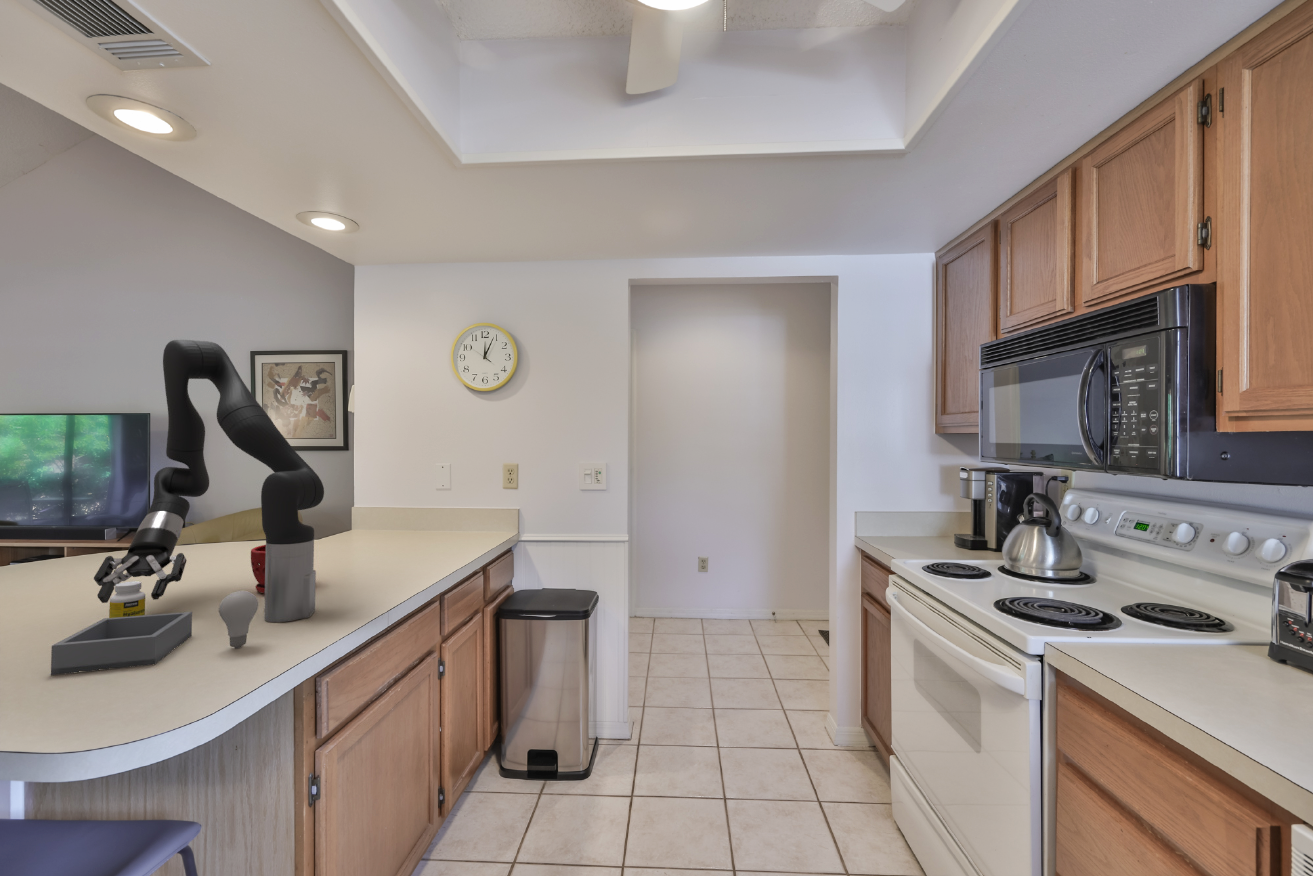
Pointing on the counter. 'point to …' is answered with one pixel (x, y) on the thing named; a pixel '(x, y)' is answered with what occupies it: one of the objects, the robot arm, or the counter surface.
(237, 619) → the lightbulb
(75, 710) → the counter surface
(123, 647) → the tote
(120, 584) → the supplement bottle
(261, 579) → the plant pot
